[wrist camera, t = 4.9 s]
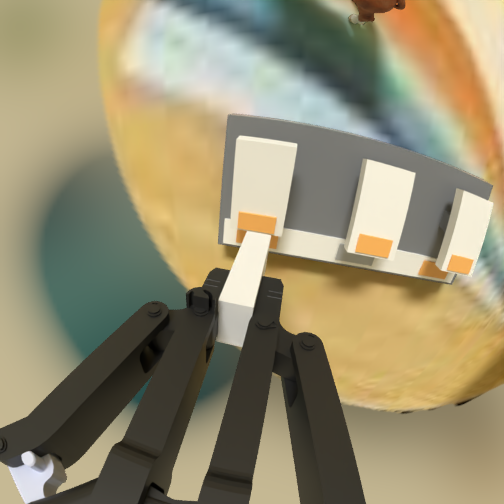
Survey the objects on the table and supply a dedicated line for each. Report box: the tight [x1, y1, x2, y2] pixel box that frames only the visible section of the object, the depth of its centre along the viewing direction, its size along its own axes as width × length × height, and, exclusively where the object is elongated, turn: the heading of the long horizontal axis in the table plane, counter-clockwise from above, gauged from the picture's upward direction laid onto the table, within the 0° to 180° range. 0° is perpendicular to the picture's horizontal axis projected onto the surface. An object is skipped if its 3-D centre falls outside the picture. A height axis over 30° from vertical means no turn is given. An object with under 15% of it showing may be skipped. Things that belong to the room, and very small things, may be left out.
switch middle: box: [344, 159, 416, 261], centre depth 19 cm, size 4×7×1 cm, turn 173°
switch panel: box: [218, 114, 493, 285], centre depth 22 cm, size 25×12×4 cm, turn 83°
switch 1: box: [230, 135, 297, 237], centre depth 19 cm, size 4×7×1 cm, turn 173°
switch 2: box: [435, 188, 493, 277], centre depth 18 cm, size 4×7×1 cm, turn 173°
